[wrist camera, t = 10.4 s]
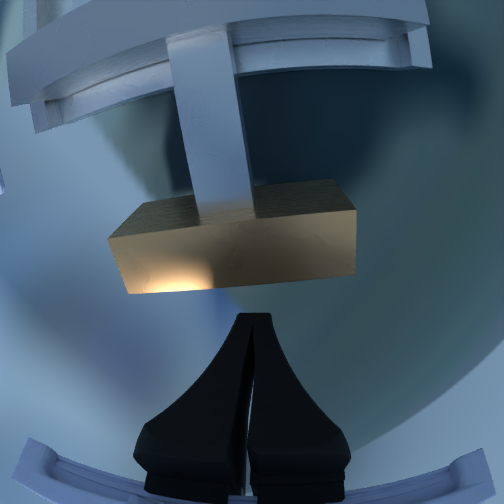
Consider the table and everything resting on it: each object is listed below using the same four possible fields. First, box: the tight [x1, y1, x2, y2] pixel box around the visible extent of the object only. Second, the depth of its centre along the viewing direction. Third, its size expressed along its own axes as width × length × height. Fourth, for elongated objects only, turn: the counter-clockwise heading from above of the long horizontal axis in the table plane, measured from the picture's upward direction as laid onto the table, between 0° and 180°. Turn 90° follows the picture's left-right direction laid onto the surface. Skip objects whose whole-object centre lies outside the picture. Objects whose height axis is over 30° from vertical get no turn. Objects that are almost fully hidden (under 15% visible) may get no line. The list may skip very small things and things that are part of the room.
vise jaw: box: [6, 0, 430, 294], centre depth 8 cm, size 12×9×3 cm
